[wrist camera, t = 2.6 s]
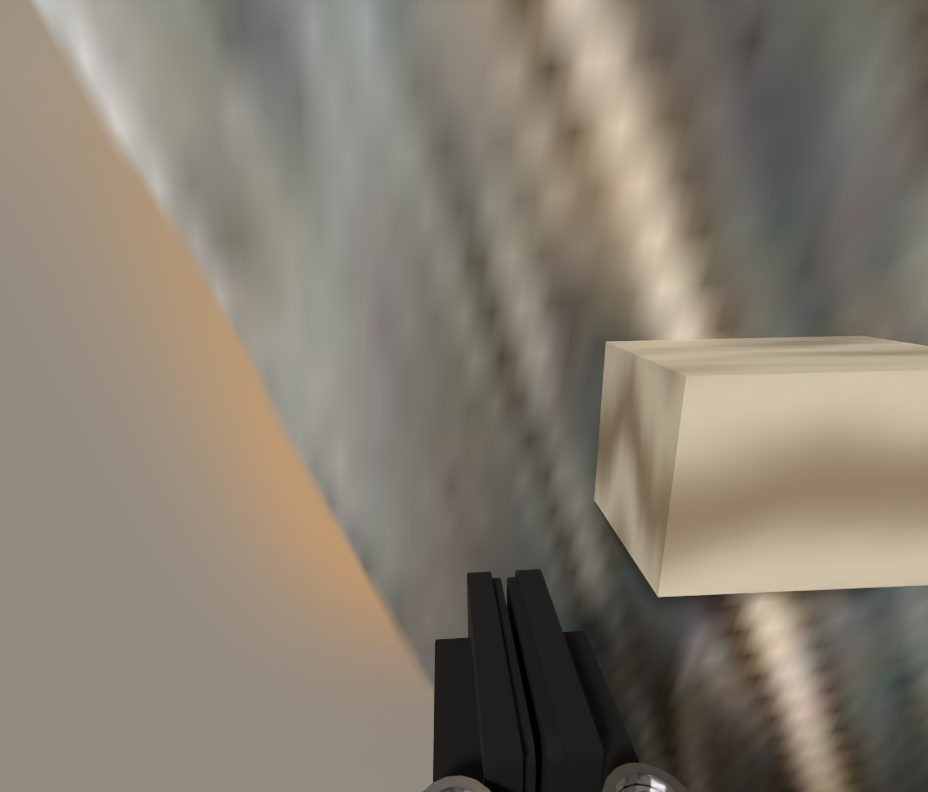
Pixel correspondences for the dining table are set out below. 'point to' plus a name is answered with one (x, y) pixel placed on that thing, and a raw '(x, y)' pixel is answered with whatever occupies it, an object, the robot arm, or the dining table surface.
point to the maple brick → (767, 462)
